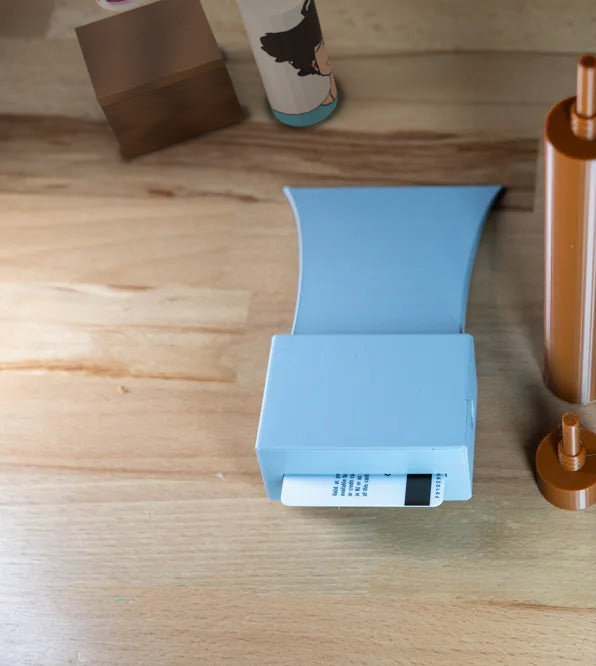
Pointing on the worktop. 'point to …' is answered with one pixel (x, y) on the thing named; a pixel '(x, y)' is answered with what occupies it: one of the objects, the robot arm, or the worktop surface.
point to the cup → (291, 58)
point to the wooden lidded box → (158, 75)
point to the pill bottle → (119, 4)
